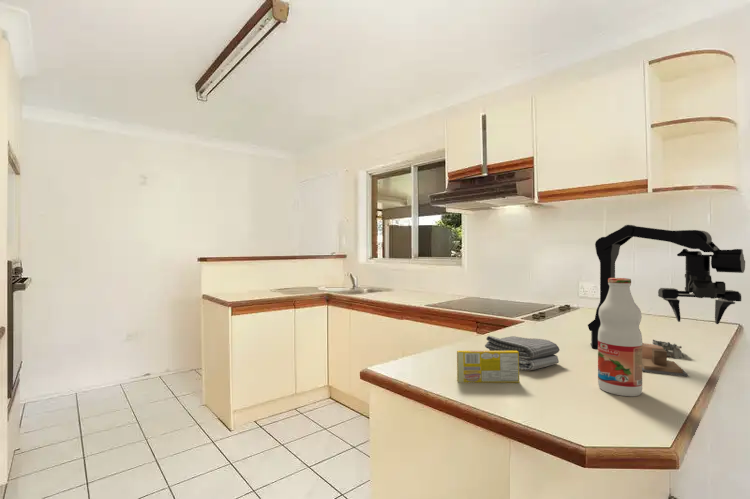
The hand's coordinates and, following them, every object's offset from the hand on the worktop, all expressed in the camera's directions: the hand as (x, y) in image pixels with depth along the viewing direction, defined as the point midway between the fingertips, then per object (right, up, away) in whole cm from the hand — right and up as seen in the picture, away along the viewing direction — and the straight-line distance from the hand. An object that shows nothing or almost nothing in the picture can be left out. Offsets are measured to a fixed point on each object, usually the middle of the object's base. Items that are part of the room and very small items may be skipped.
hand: (697, 322), depth 117 cm
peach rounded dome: (-10, -13, +8) cm, 18 cm away
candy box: (-68, -13, -14) cm, 71 cm away
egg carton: (+1, -14, +14) cm, 20 cm away
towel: (-52, -14, +4) cm, 54 cm away
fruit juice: (-37, -13, -21) cm, 44 cm away
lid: (-14, -12, -3) cm, 19 cm away
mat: (-14, -13, -3) cm, 20 cm away
